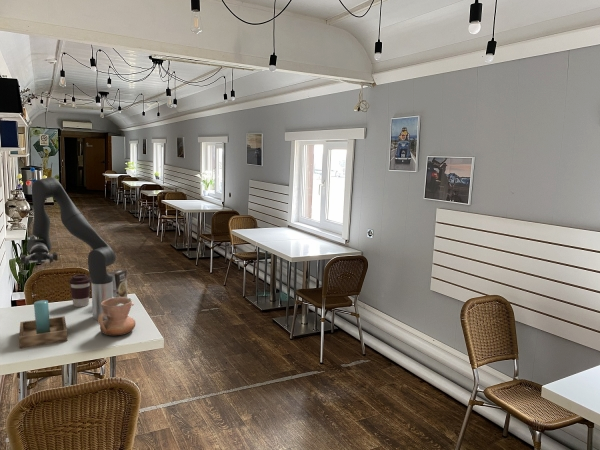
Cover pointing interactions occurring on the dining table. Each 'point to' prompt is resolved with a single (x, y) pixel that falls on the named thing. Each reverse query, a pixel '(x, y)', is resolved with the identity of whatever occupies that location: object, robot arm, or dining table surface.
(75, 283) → the coffee cup
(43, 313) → the teal canister
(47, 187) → the robot arm
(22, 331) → the walnut crate
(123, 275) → the coffee box
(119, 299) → the ceramic jug
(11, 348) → the dining table surface
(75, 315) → the dining table surface
